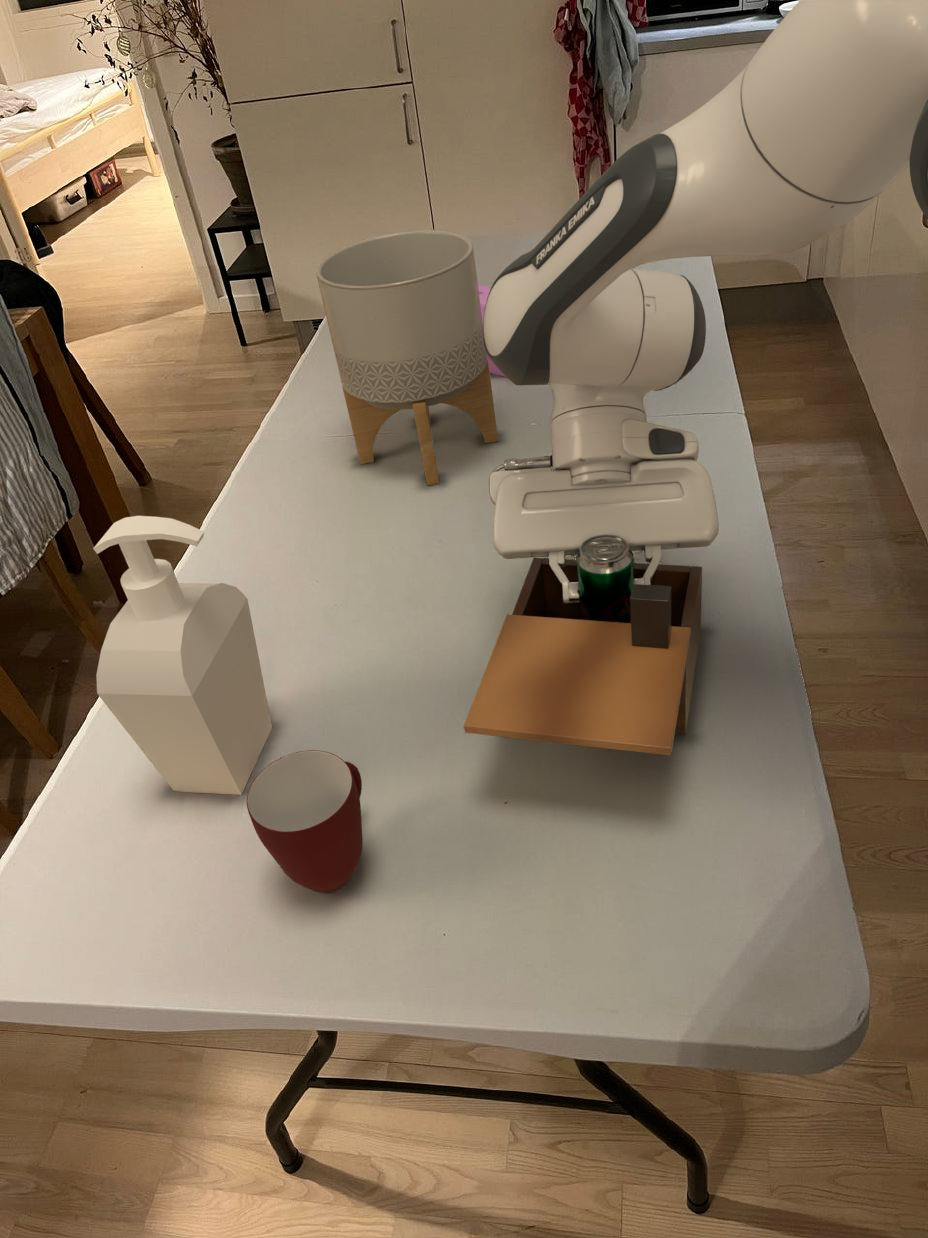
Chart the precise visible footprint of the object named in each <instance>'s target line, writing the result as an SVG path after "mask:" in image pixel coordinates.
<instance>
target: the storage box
mask: <svg viewBox="0 0 928 1238" xmlns="http://www.w3.org/2000/svg"><path fill="white" fill-rule="evenodd" d="M565 560H566V566H565V567H560V568H561V569H562V571H563V573H564V574H565V576H566V577H567V579H568V580H569V582H578V579H577V566H576V559H568V558H567V559H566V558H565ZM649 564H650V563H646V562H644V563H643V562H634V578H635V579H637V578H643V576H644V574H645V572H646V570H647V568H648V566H649ZM650 585H659V586H671V626H675V627H689V628H691V636H690V642H689V648H688V655H687V661H686V667H685V673H684V679H683V685H682V692H681V698H680V704H679V710H678V716H677V722H676V729H675V735H680V736H681V735H682V736H685V735H686V734H687V728H688V727H687V726H688V720H689V714H690V708H691V702H692V701H691V700H692V694H693V687H694V681H695V676H696V675H695V674H696V669H697V660H698V655H699V647H700V642H701V635H702V600H703V599H702V596H703V594H702V593H703V567H702V566H700V565H681V564H680V565H679V564H678V565H677V564H663V563H661V564H660V563H659V565H658V567H657V569H656V571H655V573H654V575H653V577H652V579H651V580H650ZM511 615H521V616H535V617H549V618H563V619H577V620H581V615H580V603H571V604H564V601H563V585H562V584H561V583H560V581H559V580H558V578H557V577H556V575H555V573H554V572H553V570H552V569H551V567H550V565H549V557H548V558H547V557H532V561H531V563H530V567H529V569H528V572H527V574H526V577H525V579H524V582H523V585H522V587H521V589H520V592H519V594H518V598H517V600H516V602H515V605H514V608H513V611H512V614H511Z"/></svg>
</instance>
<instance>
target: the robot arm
mask: <svg viewBox="0 0 928 1238" xmlns="http://www.w3.org/2000/svg"><path fill="white" fill-rule="evenodd" d="M908 168H909V176H910V184H911V187H912V190H913V194H914V198H915V200H916V202H917V204H918V206H919V208H920V210H921V212H922V214H923V216H924V217H925V218H926V220H928V0H799V1H798V2H797V3H796V4H795V5H794V6H793V7H792V8H791V9H790V10H789V11H788V13H787V14H786V15H785V16H784V18H783V19H781V21H780V22H779V24H778V25H777V26H776V27H775V28H774V30H772V31H771V33H770V34H769V35H768V36H767V38H766V39H765V41H764V42H763V43H762V44H761V46H760V47H759V48H758V50H757V51H756V52H755V53H754V55H753V56H752V58H751V59H750V60H749V62H748V63H747V65H745V67H744V68H743V69H742V70H741V71H740V73H739V74H738V75H737V76H735V78H733V80H732V81H731V82H730V83H728V84H727V85H726V86H725V87H724V88H723V89H722V90H721V91H719V92H718V93H717V94H716V95H715V96H713V97H712V98H710V99H709V100H708V101H707V102H705V104H703V105H701V106H700V107H699V108H697V109H696V110H695V111H693V112H692V113H690V114H689V115H687V116H686V117H684V118H683V119H681V120H680V121H678V122H677V123H674V124H673V125H672V126H670V127H668V128H667V129H665V130H663V131H661V132H659V133H656V134H653V135H651V136H650V137H648V138H646V139H644V140H642V141H640V142H639V143H637V144H635V145H633V146H631V147H630V148H629V149H627V150H626V151H625V152H624V153H623V154H621V155H620V156H619V157H618V158H617V159H616V160H615V161H614V162H612V164H611V165H609V167H608V168H607V169H606V170H605V171H604V172H603V173H602V174H601V175H600V176H599V177H598V178H597V179H596V181H595V182H594V183H593V184H592V185H590V187H589V188H588V189H587V190H586V191H585V193H583V195H582V196H580V198H579V199H578V200H577V201H576V202H575V204H573V205H572V206H571V208H569V210H568V211H567V212H566V213H565V214H564V215H563V216H562V217H561V219H559V221H558V222H557V223H556V224H555V225H554V226H553V227H552V228H551V230H549V232H547V234H546V235H545V236H544V237H543V238H542V239H541V240H540V242H539V243H538V244H537V245H536V246H534V248H532V249H531V250H529V251H528V252H526V253H524V254H521V255H520V256H518V257H517V258H515V260H513V262H511V263H510V264H509V265H508V266H507V267H506V268H504V269H503V270H502V271H501V273H500V274H499V275H498V276H497V278H495V280H494V282H493V283H492V285H491V286H490V287H491V289H490V292H489V294H488V298H487V301H486V305H485V310H484V317H483V341H484V346H485V350H486V352H487V354H488V356H489V357H490V359H491V360H492V361H493V363H494V364H495V365H496V366H497V367H498V369H499V370H500V371H501V372H502V373H503V374H504V375H505V376H506V377H505V378H507V379H508V380H509V381H510V382H511V383H513V384H514V385H515V386H548V385H549V386H550V389H551V392H552V397H553V398H552V399H553V405H552V406H553V407H552V410H551V415H550V442H551V454H550V455H544V456H534V457H529V458H520V459H518V458H509V459H506V460H504V461H503V463H501V464H499V465H498V466H496V467H495V468H494V469H493V470H492V471H491V472H490V475H489V478H488V493H489V499H490V501H491V503H492V504H493V505H494V513H493V528H492V529H493V531H492V532H493V533H492V535H493V537H492V540H493V541H492V542H493V547H494V549H495V551H496V552H497V553H498V555H500V556H501V557H502V558H503V559H506V560H513V559H514V560H515V559H529V558H547V557H548V558H549V565H550V567H551V569H552V570H553V572H554V573H555V575H556V577H557V578H558V580H559V581H560V583H561V584H562V585H563V601H564V604H571V603H580V598H579V591H578V590H579V588H578V582H569V580H568V579H567V577H566V576H565V574H564V573H563V571H562V569H561V568H560V567H565V566H566V560H565V559H566V556H577V555H578V553H579V549H580V546H581V544H582V543H583V542H584V541H585V540H587V539H589V538H591V537H593V536H597V535H604V534H609V535H616V536H619V537H621V538H623V539H624V540H625V541H626V542H627V543H628V545H629V549H630V550H631V551H632V552H641V551H644V561H645V563H648V564H649V566H648V568H647V570H646V572H645V574H644V576H643V578H637V579H635V583H634V584H642V585H650V580H651V579H652V577H653V575H654V573H655V571H656V569H657V567H658V565H659V564H660V563H661V561H662V550H674V549H689V548H690V549H693V548H705V547H709V546H710V545H711V544H712V543H713V542H714V541H715V540H716V538H717V537H718V534H719V531H720V529H719V515H718V509H717V502H716V497H715V493H714V488H713V484H712V479H711V477H710V474H709V472H708V470H707V469H706V467H705V466H704V465H703V464H702V463H701V462H699V461H698V458H699V451H700V450H699V449H700V448H699V447H700V446H699V439H698V436H697V435H696V434H695V433H693V432H691V431H687V430H684V429H683V430H682V429H679V428H675V427H669V426H664V425H660V424H656V423H652V422H648V420H647V413H646V409H645V404H644V399H645V396H646V395H647V394H648V393H650V392H653V391H654V392H658V391H663V390H665V389H668V388H670V387H672V386H674V385H676V384H677V383H679V382H680V381H681V380H683V379H684V378H685V377H686V376H687V375H688V374H689V373H690V372H691V371H692V370H693V369H694V368H695V367H696V365H697V364H698V363H699V361H700V360H701V359H702V356H703V353H704V350H705V345H706V334H707V321H706V313H705V309H704V306H703V301H702V300H701V297H700V295H699V293H698V291H697V289H696V288H695V286H694V284H693V283H692V282H691V281H690V280H689V279H688V278H687V277H686V276H685V275H683V274H677V273H673V272H668V271H661V270H655V269H654V270H653V269H644V268H637V267H639V266H644V265H646V264H651V263H655V262H660V261H666V260H673V259H685V258H697V257H698V258H700V257H701V258H702V257H703V258H704V257H751V256H773V255H781V254H786V253H791V252H794V251H797V250H801V249H803V248H805V247H807V246H809V245H812V244H814V243H815V242H817V241H819V240H821V239H823V238H825V237H827V236H829V235H831V234H832V233H834V232H836V231H837V230H839V229H841V228H843V227H844V226H845V225H847V224H848V223H849V222H851V221H852V220H854V219H855V218H856V217H857V216H858V215H859V214H861V213H862V212H863V211H864V210H865V209H866V208H867V207H868V206H869V205H871V204H872V203H873V201H875V200H876V199H877V198H878V197H879V196H880V195H881V194H882V193H883V192H884V191H885V190H886V189H887V188H889V186H891V185H892V184H894V182H895V181H896V180H897V179H898V178H899V177H901V175H902V174H903V173H904V172H905V171H907V169H908Z"/></svg>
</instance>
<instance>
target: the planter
mask: <svg viewBox="0 0 928 1238" xmlns="http://www.w3.org/2000/svg"><path fill="white" fill-rule="evenodd" d="M473 245H474V244H473V242H472V240H471V239H470V238H468V237H467V236H466V235H464V234H461V233H459V232H455V231H450V230H444V229H443V230H442V229H441V230H438V229H416V230H404V231H397V232H390V233H386V234H385V233H384V234H380V235H376V236H371V237H367V238H365V239H362V240H358V241H356V242H352V243H350V244H347V245H345V246H343V247H340V248H339V249H336V250H334V251H332V252H331V253H330V254H327V256H325V257H324V258H322V259H321V260H320V262H319V263H318V264H317V266H316V268H315V274H316V279H317V283H318V287H319V291H320V296H321V300H322V304H323V305H322V306H323V309H324V313H325V317H326V322H327V326H328V330H329V335H330V339H331V343H332V346H333V347H332V348H333V353H334V356H335V360H336V366H337V369H338V373H339V378H340V381H341V387H342V391H343V395H344V400H345V405H346V408H347V409H346V410H347V413H348V417H349V422H350V427H351V430H352V434H353V438H354V444H355V447H356V451H357V457H358V461H359V463H360V465H364V464H370V463H374V462H375V456H374V447H375V441H376V438H377V435H378V433H379V431H380V430H381V428H382V427H383V425H384V424H385V423H386V422H387V421H388V420H389V419H390V418H391V417H392V416H393V415H395V414H397V413H398V412H400V411H401V410H402V411H407V410H413V416H414V421H415V427H416V432H417V438H418V442H419V443H418V444H419V448H420V454H421V459H422V464H423V468H424V469H423V470H424V475H425V480H426V485H427V486H428V487H429V486H430V487H431V486H434V485H440V477H439V471H438V466H437V459H436V454H435V447H434V442H433V436H432V429H431V424H432V421H431V413H430V407H431V406H435V405H439V404H444V405H448V406H451V407H455V408H457V409H459V410H460V411H463V412H464V413H465V414H467V415H468V416H469V417H470V418H471V419H472V420H473V421H474V422H475V423H476V425H477V426H478V428H479V430H480V432H481V434H482V437H483V442H484V444H489V443H495V442H499V435H498V426H497V420H496V412H495V404H494V395H493V387H492V381H491V373H490V372H489V364H488V360H487V352H486V350H485V346H484V341H483V320H482V312H481V304H480V297H479V289H478V286H479V281H478V275H477V267H476V260H475V258H476V257H475V251H474V246H473Z"/></svg>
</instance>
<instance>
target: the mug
mask: <svg viewBox="0 0 928 1238" xmlns="http://www.w3.org/2000/svg"><path fill="white" fill-rule="evenodd" d="M362 781H363V780H362V775H361V773H360V770H359V769H358V767H357V766H356V765H355V764H354V763H352V762H350V761H345V760H344V759H342V758H341V757H340V756H338V755H336V754H334V753H332V752H328V751H326V750H325V751H324V750H317V749H316V750H315V749H310V750H307V749H306V750H300V751H296V752H292V753H289V754H287V755H284V756H282V757H279V758H278V759H276V760H274V761H273V762H271V763H269V764H268V765H267V766H266V767H264V768H263V769H262V770H261V771H260V772H259V773H258V774H257V775H256V777H255V778H254V780H253V781H252V783H251V784H250V787H249V789H248V792H247V795H246V808H247V813H248V815H249V817H250V820H251V823H252V825H253V828H254V830H255V833H256V835H257V837H258V839H259V840H260V842H261V844H262V845H263V846H264V848H265V849H266V851H267V852H268V853H269V854H270V856H271V857H272V858H273V860H274V861H275V862H276V863H277V864H278V866H279V868H280V869H281V870H282V872H283V873H284V874H285V875H286V876H287V877H288V878H289V879H290V880H291V881H293V882H294V883H296V884H297V885H299V886H301V887H303V888H306V889H307V890H311V891H313V892H316V893H322V894H326V893H327V894H328V893H333V892H336V891H338V890H340V889H342V888H343V887H344V886H346V885H347V884H348V883H349V881H350V880H351V879H352V877H353V875H354V873H355V871H356V869H357V867H358V864H359V862H360V859H361V857H362V852H363V826H362V821H363V820H362V808H361V795H362V789H363V787H362V786H363V782H362Z"/></svg>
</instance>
